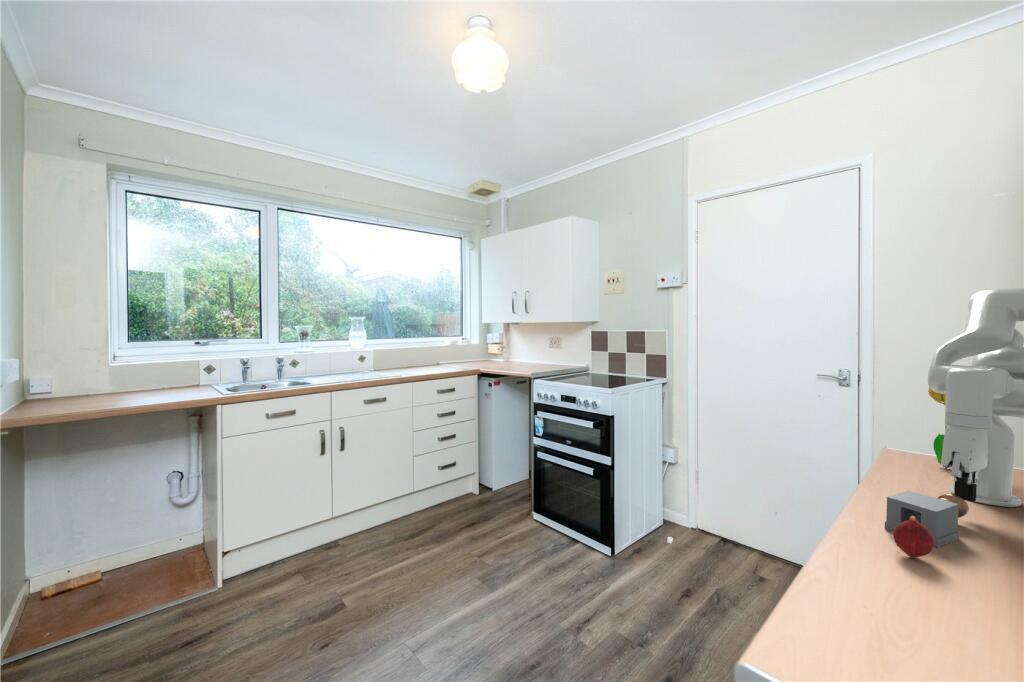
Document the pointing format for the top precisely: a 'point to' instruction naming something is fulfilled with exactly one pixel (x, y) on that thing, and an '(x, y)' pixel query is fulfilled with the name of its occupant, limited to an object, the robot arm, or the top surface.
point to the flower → (940, 438)
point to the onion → (913, 538)
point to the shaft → (956, 499)
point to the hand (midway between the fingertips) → (964, 499)
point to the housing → (924, 515)
